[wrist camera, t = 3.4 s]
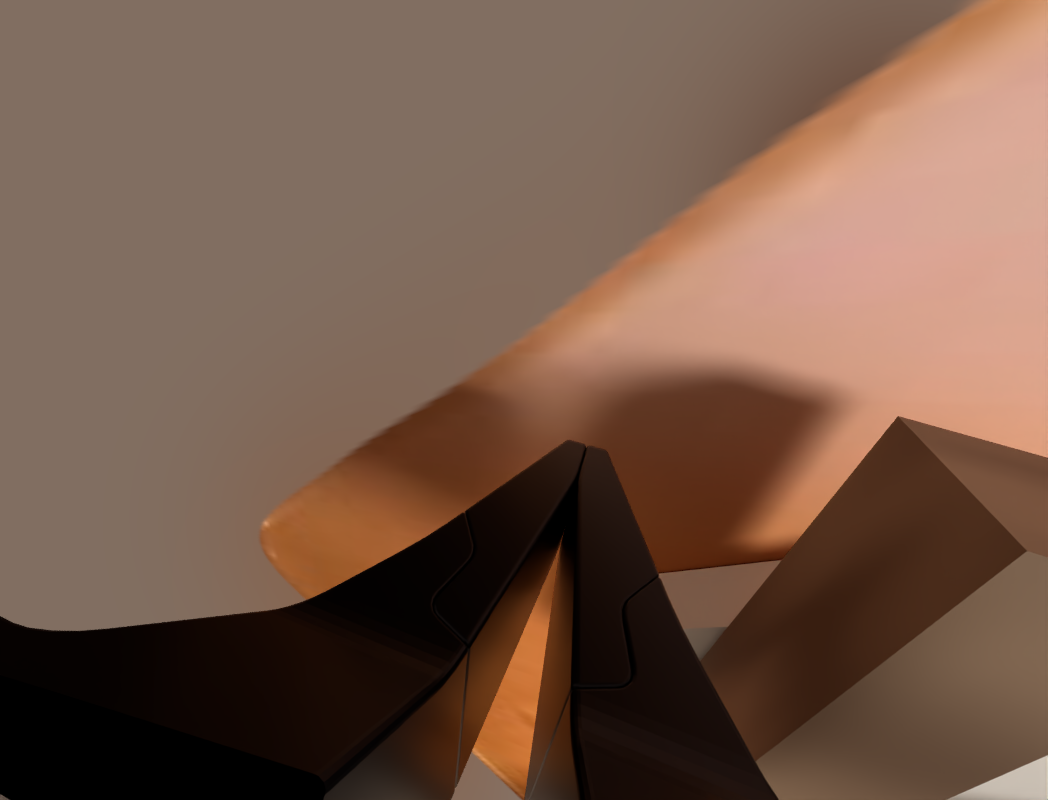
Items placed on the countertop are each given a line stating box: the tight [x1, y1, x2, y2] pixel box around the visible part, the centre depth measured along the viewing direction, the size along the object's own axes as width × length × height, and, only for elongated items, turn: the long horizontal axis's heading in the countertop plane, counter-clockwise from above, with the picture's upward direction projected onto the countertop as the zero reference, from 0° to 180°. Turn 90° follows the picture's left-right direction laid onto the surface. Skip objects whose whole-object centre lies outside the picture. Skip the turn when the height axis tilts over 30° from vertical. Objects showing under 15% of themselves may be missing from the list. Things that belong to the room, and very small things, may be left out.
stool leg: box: [700, 416, 1048, 800], centre depth 8 cm, size 11×3×3 cm, turn 170°
